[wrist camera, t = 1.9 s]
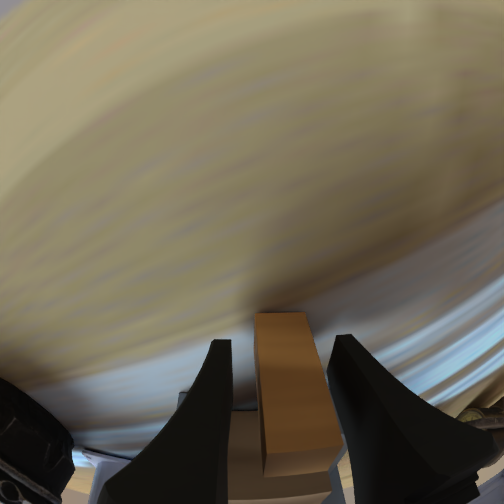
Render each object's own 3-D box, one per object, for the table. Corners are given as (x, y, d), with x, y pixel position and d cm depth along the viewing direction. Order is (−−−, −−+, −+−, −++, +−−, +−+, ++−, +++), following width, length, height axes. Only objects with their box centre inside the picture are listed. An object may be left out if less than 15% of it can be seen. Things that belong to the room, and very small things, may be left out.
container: (-47, 344, 13) (-95, 419, 4) (56, 396, 14) (13, 513, 5) (3, 423, 18) (-22, 486, 9) (97, 464, 20) (80, 542, 11)
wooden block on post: (301, 443, 17) (313, 517, 11) (228, 447, 16) (228, 523, 11) (339, 310, 11) (393, 433, 6) (216, 313, 11) (206, 454, 6)
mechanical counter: (448, 482, 17) (527, 442, 12) (387, 511, 13) (506, 468, 8) (437, 431, 23) (509, 387, 18) (376, 438, 19) (481, 381, 13)
